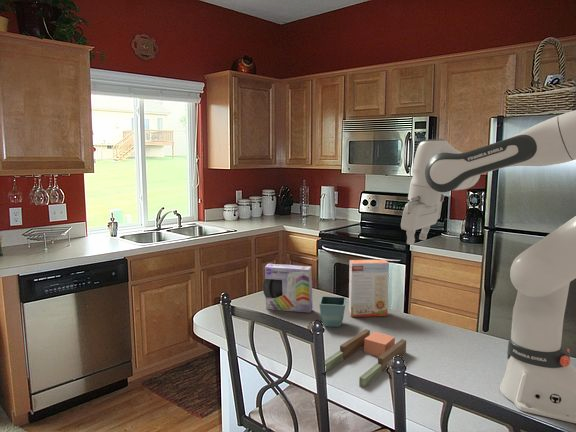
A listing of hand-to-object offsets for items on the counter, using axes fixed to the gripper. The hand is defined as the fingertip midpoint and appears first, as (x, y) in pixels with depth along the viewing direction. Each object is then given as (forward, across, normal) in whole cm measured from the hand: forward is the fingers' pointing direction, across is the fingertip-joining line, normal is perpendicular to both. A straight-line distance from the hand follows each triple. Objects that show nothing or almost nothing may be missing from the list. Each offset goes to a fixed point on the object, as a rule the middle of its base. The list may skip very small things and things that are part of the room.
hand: (416, 241), depth 131 cm
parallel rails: (+36, -12, +5) cm, 39 cm away
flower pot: (+39, +7, +28) cm, 48 cm away
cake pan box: (+41, +9, +50) cm, 65 cm away
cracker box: (+38, +24, +22) cm, 50 cm away
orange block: (+36, -3, +5) cm, 37 cm away
